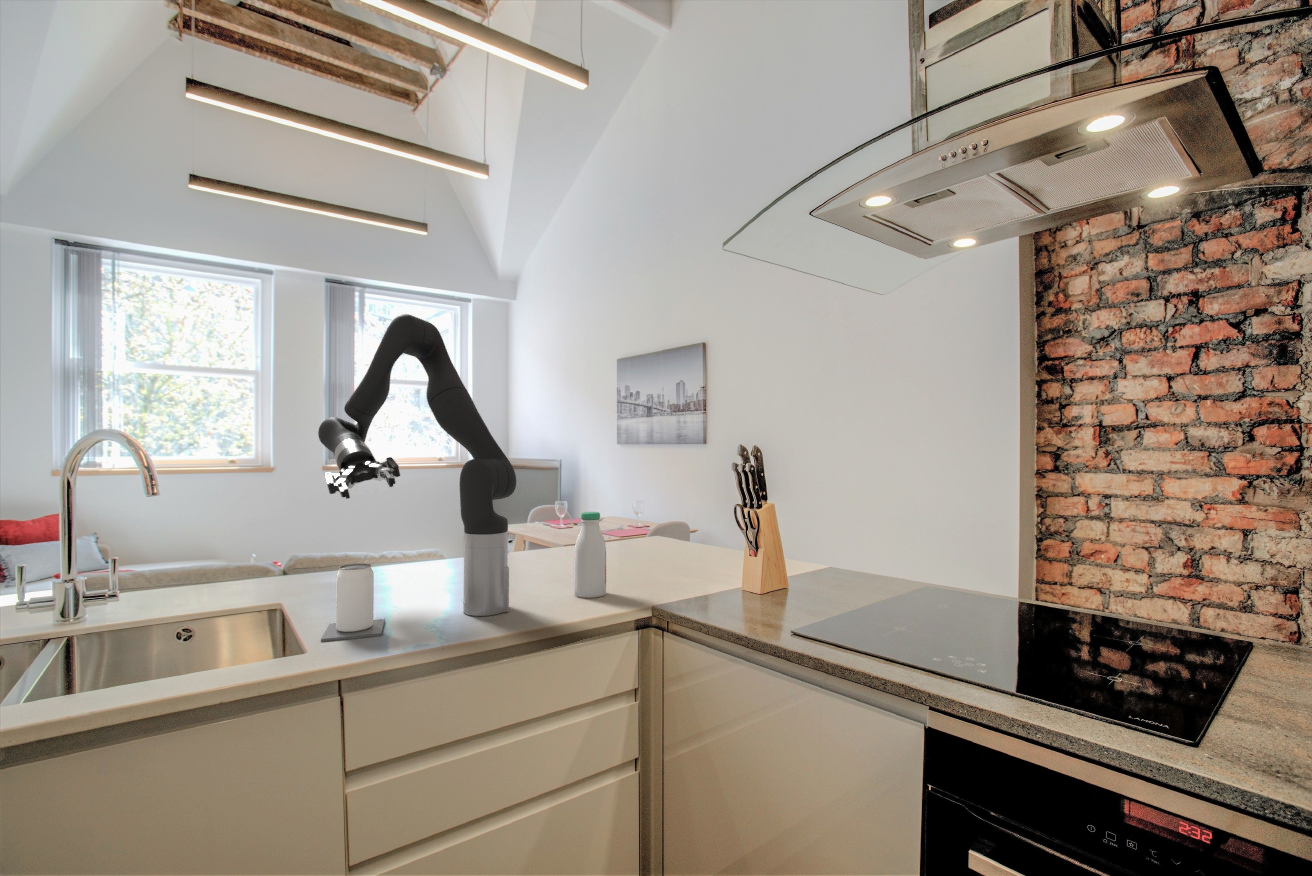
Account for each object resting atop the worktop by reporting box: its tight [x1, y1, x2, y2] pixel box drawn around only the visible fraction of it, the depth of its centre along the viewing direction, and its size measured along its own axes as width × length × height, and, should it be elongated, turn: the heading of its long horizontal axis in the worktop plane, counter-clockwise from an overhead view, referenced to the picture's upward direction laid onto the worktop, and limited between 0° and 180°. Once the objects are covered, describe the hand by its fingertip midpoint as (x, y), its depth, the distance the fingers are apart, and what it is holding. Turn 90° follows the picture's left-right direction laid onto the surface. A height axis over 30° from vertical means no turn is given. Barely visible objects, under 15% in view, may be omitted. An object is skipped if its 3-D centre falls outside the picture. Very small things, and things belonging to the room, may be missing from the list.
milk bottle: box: [573, 511, 607, 599], centre depth 144 cm, size 8×8×20 cm
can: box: [335, 562, 375, 633], centre depth 115 cm, size 6×6×12 cm
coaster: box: [320, 618, 386, 643], centre depth 115 cm, size 10×10×1 cm
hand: (369, 488), depth 124 cm, fingers open, 8 cm apart
